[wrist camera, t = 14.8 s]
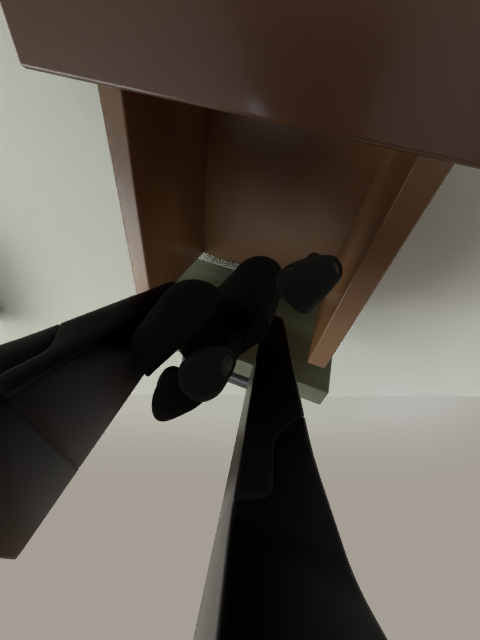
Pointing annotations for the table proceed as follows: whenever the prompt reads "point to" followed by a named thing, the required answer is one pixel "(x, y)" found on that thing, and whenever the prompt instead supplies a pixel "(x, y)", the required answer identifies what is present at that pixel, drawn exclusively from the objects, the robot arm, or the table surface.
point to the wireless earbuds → (221, 325)
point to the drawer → (262, 209)
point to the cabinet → (280, 62)
